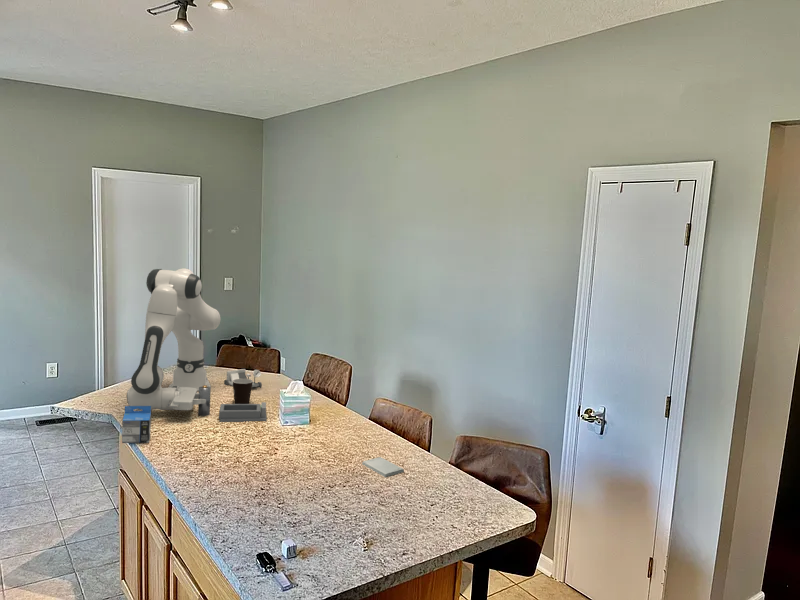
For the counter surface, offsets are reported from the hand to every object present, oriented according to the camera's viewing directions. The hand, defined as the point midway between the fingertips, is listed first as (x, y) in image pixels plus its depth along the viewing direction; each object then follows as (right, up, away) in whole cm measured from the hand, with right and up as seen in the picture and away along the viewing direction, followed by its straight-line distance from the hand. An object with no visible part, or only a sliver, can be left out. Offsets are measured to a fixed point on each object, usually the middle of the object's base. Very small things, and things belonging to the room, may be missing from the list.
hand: (206, 398), depth 236 cm
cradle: (+15, -8, 0) cm, 17 cm away
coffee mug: (+9, -5, +20) cm, 23 cm away
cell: (-1, -6, 0) cm, 7 cm away
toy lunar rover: (+3, -2, +46) cm, 46 cm away
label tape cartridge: (-14, -9, -33) cm, 37 cm away
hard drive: (+74, -17, -41) cm, 86 cm away
